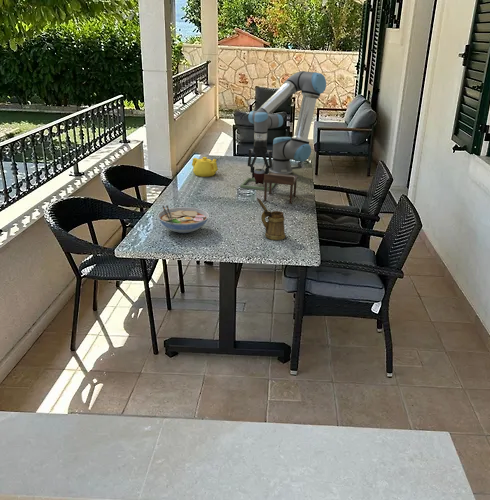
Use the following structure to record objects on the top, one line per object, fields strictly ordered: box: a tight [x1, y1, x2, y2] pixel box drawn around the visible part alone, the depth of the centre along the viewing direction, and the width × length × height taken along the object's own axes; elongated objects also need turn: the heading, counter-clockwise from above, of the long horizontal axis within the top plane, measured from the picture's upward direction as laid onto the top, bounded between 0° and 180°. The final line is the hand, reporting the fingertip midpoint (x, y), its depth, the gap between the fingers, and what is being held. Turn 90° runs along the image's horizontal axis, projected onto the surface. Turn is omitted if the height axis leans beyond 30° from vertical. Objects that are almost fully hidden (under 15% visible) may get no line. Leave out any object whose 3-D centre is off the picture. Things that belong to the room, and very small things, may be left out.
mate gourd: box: [254, 158, 269, 185], centre depth 299 cm, size 8×8×15 cm
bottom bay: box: [240, 177, 276, 192], centre depth 302 cm, size 18×18×2 cm
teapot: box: [191, 156, 219, 178], centre depth 319 cm, size 20×18×11 cm
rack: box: [263, 173, 299, 205], centre depth 277 cm, size 16×16×15 cm
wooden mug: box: [256, 197, 286, 241], centre depth 223 cm, size 9×14×18 cm, turn 94°
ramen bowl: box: [157, 204, 210, 234], centre depth 227 cm, size 25×23×8 cm
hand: (259, 178), depth 301 cm, fingers closed on mate gourd, 7 cm apart
